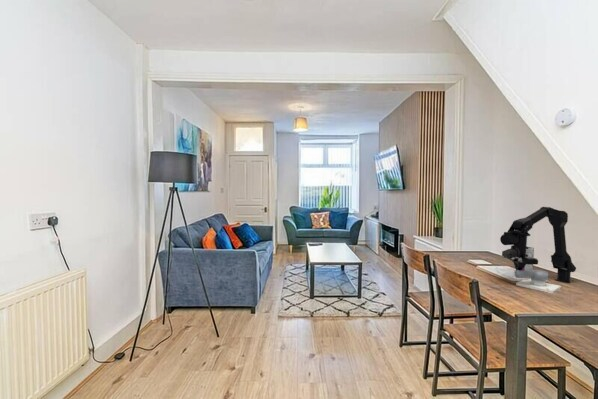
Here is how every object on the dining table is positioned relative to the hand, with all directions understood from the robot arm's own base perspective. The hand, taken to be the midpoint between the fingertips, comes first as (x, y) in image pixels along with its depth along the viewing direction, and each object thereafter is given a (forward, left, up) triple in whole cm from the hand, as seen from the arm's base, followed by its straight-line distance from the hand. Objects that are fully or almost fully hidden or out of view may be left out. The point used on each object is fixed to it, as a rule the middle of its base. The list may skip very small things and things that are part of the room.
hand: (518, 273), depth 177 cm
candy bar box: (-32, -7, -6) cm, 33 cm away
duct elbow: (-2, +6, -2) cm, 6 cm away
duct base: (-5, +8, -6) cm, 11 cm away
